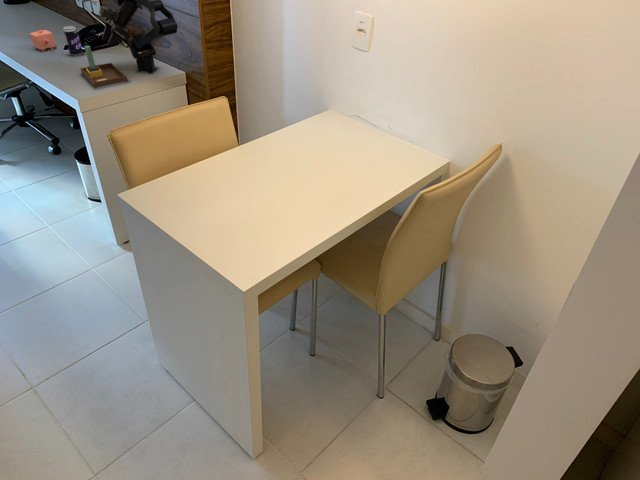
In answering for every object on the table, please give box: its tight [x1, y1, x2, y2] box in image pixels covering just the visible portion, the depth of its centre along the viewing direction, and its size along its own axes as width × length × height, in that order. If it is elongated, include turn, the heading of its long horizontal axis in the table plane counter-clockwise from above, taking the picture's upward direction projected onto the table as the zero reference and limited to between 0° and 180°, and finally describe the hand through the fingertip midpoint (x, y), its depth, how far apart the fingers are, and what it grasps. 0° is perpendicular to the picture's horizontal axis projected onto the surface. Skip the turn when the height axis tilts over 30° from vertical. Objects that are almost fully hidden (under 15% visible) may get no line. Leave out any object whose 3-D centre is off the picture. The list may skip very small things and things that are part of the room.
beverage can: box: [62, 25, 84, 57], centre depth 224 cm, size 6×6×12 cm
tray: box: [80, 62, 128, 88], centre depth 205 cm, size 19×13×3 cm
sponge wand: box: [83, 45, 103, 78], centre depth 203 cm, size 5×6×12 cm
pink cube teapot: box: [29, 29, 57, 52], centre depth 230 cm, size 8×12×8 cm, turn 46°
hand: (105, 43), depth 202 cm, fingers open, 9 cm apart
